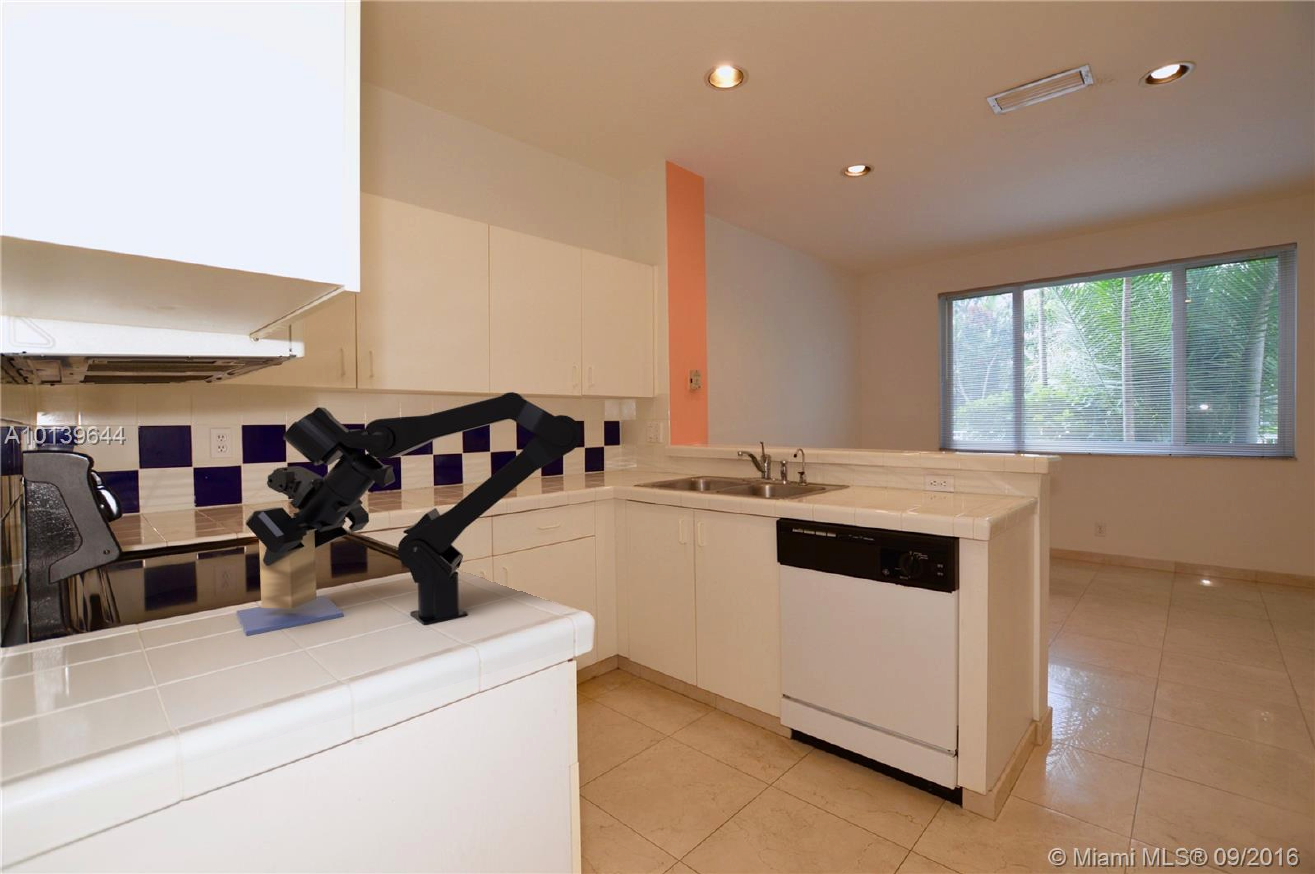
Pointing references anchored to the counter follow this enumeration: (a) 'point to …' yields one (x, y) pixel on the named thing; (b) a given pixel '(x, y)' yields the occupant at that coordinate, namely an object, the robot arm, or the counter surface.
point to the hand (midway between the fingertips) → (280, 559)
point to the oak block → (289, 577)
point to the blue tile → (287, 616)
